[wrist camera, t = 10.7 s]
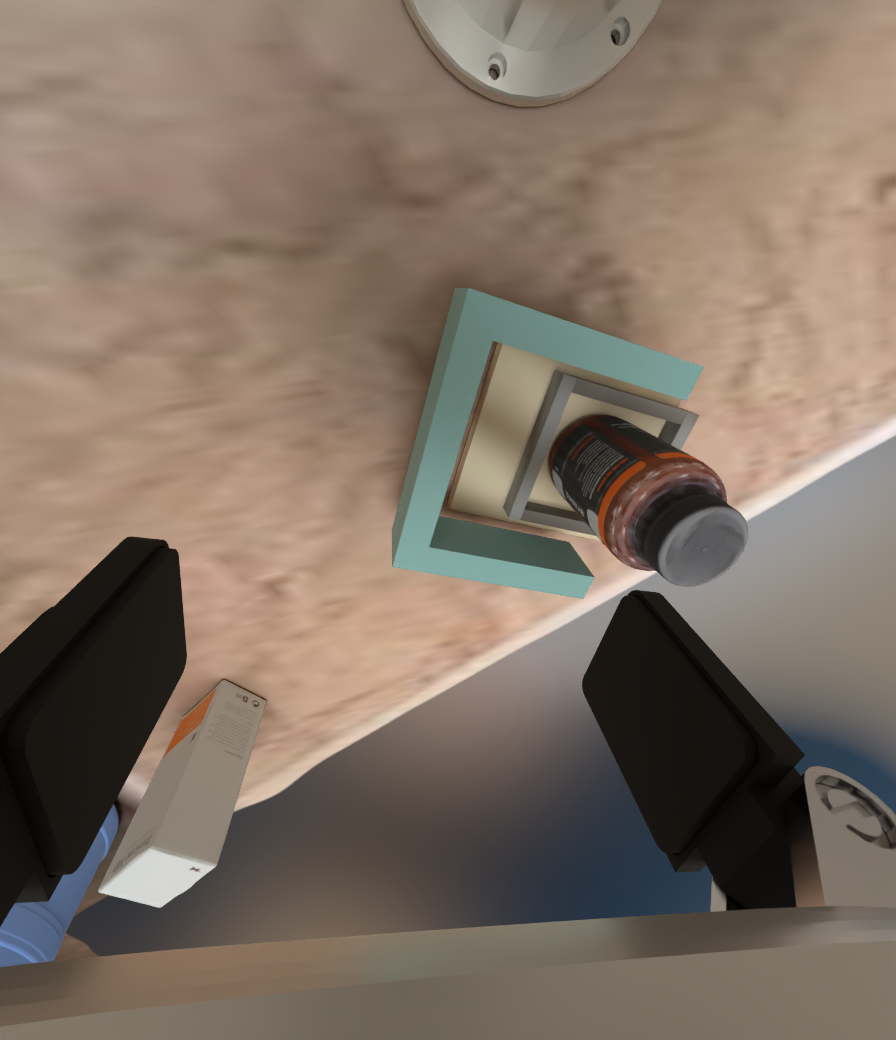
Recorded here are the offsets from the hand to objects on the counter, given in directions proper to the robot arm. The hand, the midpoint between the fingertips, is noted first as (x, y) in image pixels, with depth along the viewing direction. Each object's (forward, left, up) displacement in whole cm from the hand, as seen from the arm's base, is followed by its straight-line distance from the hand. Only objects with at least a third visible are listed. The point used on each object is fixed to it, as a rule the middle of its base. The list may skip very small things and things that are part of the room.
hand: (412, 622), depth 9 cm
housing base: (0, +11, -19) cm, 22 cm away
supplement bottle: (0, +13, -18) cm, 22 cm away
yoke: (0, +7, -16) cm, 18 cm away
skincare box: (+28, -8, -20) cm, 35 cm away
